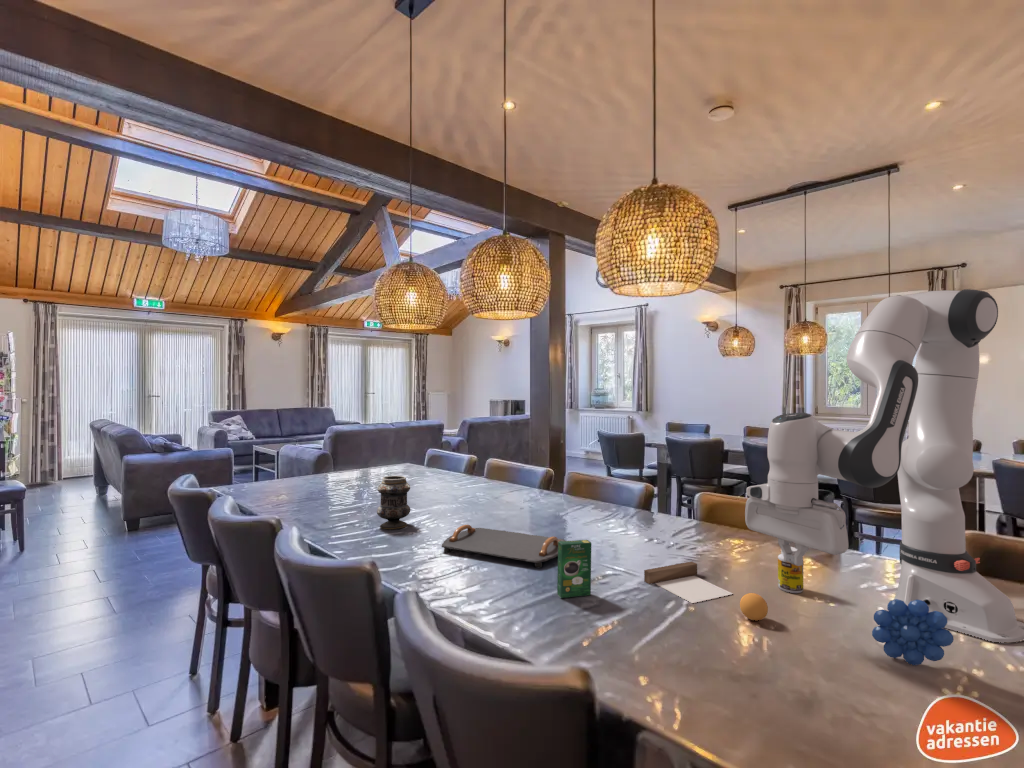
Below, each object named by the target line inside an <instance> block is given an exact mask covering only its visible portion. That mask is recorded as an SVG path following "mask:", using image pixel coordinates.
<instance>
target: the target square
mask: <svg viewBox="0 0 1024 768" xmlns="http://www.w3.org/2000/svg"><path fill="white" fill-rule="evenodd" d="M654 584H655V585H656V586H658V587H660V588H661V589H663V590H665V591H668V592H669V593H671V594H673V595H675V596H676V597H678V596H679V597H678V598H680V597H681V598H680V599H682V600H684V599H685V600H684V601H686V600H687V601H686V602H688V601H689V602H688V603H689V604H691V603H694V604H698V603H702V601H703V602H706V600H707V601H711V599H712V600H716V599H720V598H719V597H721V598H724V596H725V597H729V596H728V595H730V596H733V595H734V593H732V592H731V591H728V590H726V589H724V588H722V587H720V586H717V585H715V584H714V583H711V582H709V581H706V580H705V579H702V578H700V577H698V576H697V575H695V576H689V577H684V578H679V579H674V580H669V581H664V582H659V583H654ZM732 594H733V595H732ZM697 602H698V603H697Z"/></svg>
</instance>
